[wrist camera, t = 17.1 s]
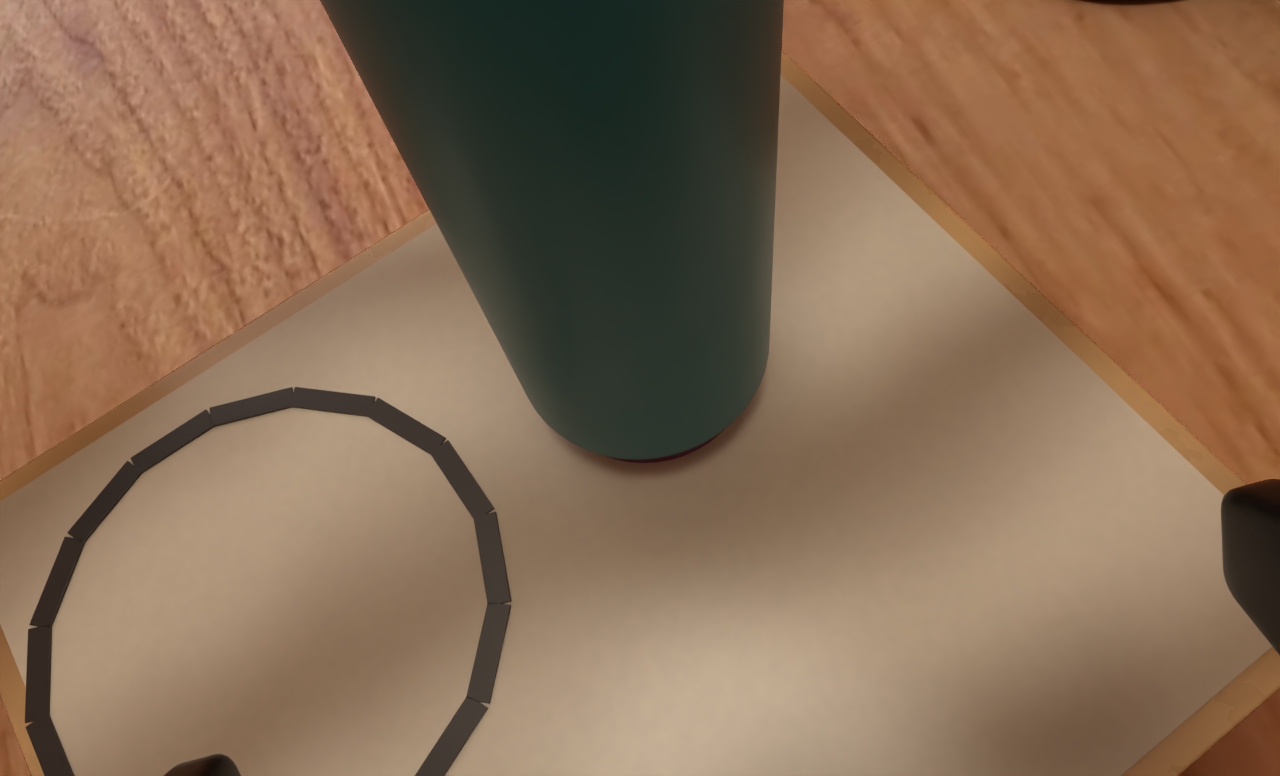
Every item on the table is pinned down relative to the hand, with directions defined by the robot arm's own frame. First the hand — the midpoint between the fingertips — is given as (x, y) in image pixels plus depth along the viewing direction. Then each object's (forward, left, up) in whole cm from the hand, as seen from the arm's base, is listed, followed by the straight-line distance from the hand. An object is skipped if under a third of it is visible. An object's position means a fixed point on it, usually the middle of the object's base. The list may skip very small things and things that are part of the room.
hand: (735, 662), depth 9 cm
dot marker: (+6, -2, -7) cm, 10 cm away
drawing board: (+4, 0, -8) cm, 9 cm away
